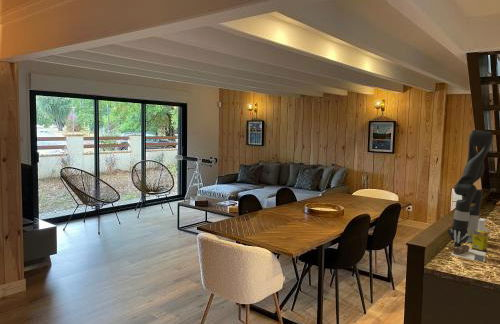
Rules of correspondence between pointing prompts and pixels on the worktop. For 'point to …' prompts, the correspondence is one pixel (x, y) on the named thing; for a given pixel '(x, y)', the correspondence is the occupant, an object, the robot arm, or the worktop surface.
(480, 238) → the supplement box
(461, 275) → the worktop surface
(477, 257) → the leg stop
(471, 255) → the stool seat
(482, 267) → the worktop surface
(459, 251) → the folding leg
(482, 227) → the cylinder with rectangular tab
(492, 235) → the worktop surface
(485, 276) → the worktop surface
